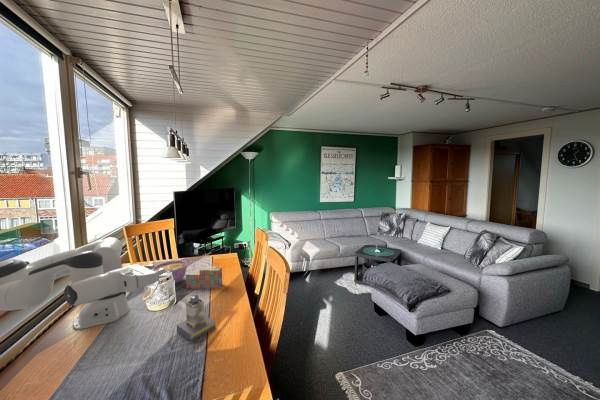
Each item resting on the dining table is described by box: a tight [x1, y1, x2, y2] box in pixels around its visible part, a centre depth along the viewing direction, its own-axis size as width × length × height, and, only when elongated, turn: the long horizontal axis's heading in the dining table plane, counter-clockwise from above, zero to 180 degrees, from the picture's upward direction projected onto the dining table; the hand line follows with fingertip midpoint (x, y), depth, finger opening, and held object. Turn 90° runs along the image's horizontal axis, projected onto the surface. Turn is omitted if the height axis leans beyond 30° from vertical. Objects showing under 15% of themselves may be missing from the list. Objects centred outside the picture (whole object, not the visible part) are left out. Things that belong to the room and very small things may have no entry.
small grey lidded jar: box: [185, 298, 206, 329], centre depth 113 cm, size 6×6×10 cm
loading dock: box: [176, 315, 217, 342], centre depth 114 cm, size 12×12×3 cm
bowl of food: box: [153, 260, 188, 284], centre depth 164 cm, size 20×20×12 cm
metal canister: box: [190, 294, 200, 305], centre depth 113 cm, size 3×3×3 cm
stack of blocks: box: [185, 266, 223, 290], centre depth 158 cm, size 21×6×12 cm, turn 89°
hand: (158, 268), depth 108 cm, fingers open, 8 cm apart
